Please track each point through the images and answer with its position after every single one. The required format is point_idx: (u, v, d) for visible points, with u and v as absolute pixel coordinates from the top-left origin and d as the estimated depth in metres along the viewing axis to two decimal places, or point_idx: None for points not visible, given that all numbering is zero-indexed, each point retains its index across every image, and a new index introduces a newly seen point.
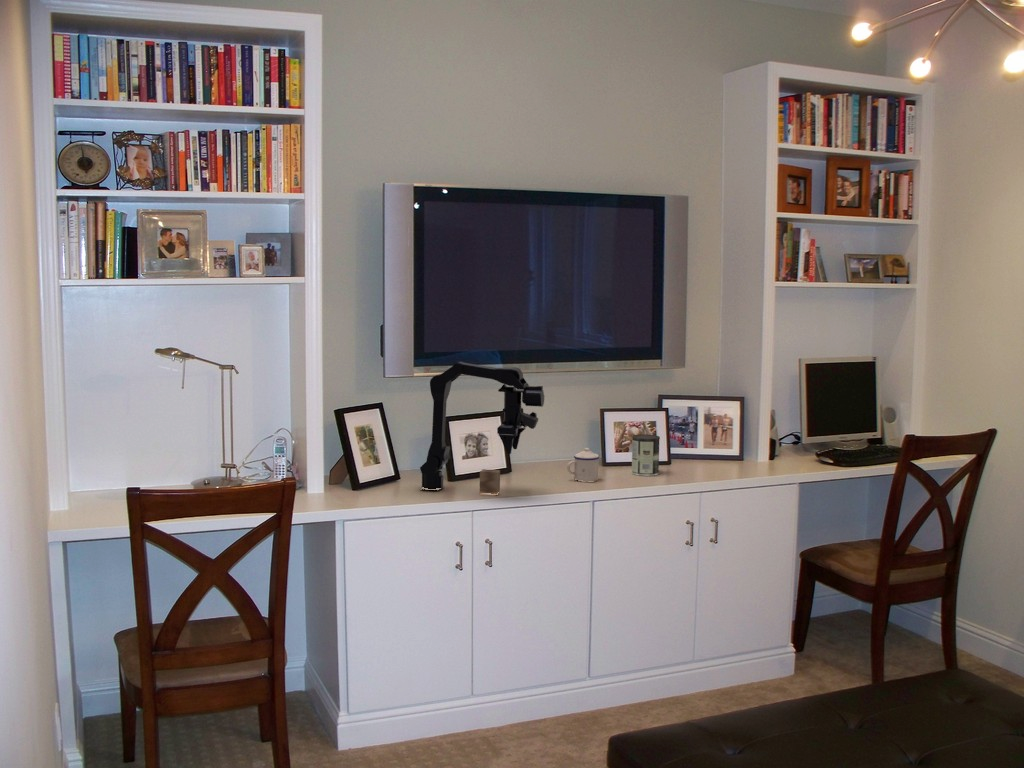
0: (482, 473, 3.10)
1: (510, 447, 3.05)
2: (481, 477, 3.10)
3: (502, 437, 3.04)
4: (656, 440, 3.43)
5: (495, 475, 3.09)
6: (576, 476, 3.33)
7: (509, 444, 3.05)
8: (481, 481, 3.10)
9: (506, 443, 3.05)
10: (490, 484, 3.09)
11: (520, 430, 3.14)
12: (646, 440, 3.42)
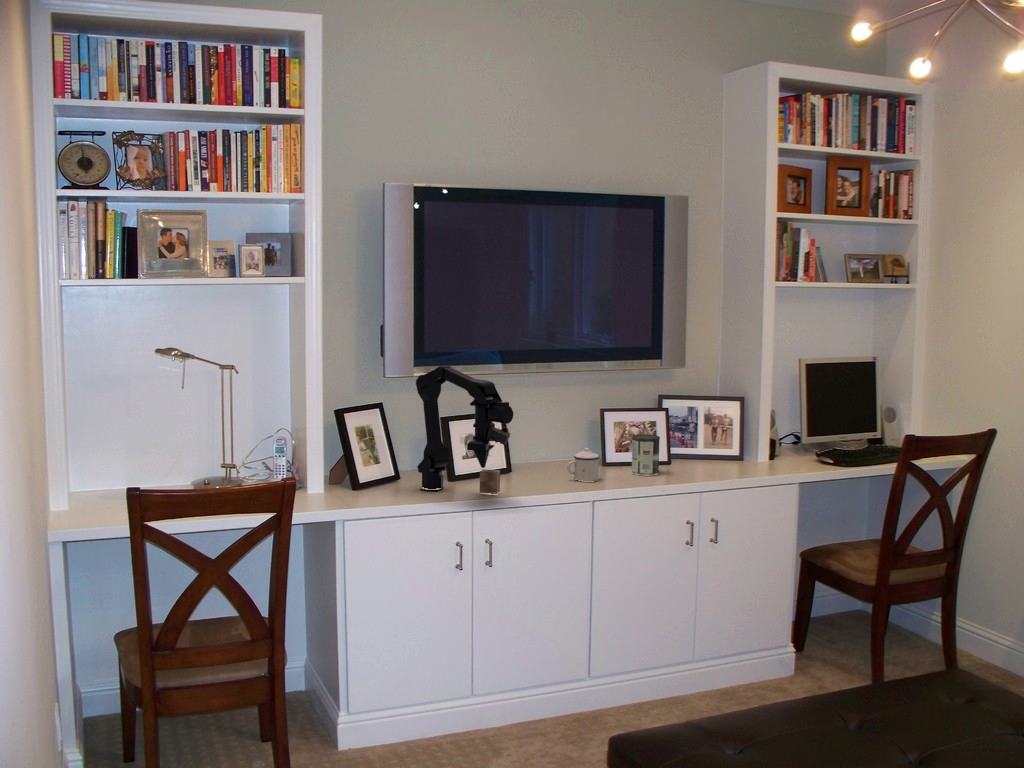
0: (482, 473, 3.10)
1: (484, 461, 3.01)
2: (481, 477, 3.10)
3: (476, 451, 3.00)
4: (656, 440, 3.43)
5: (495, 475, 3.09)
6: (576, 476, 3.33)
7: (482, 458, 3.01)
8: (481, 481, 3.10)
9: (480, 457, 3.01)
10: (490, 484, 3.09)
11: None
12: (646, 440, 3.42)
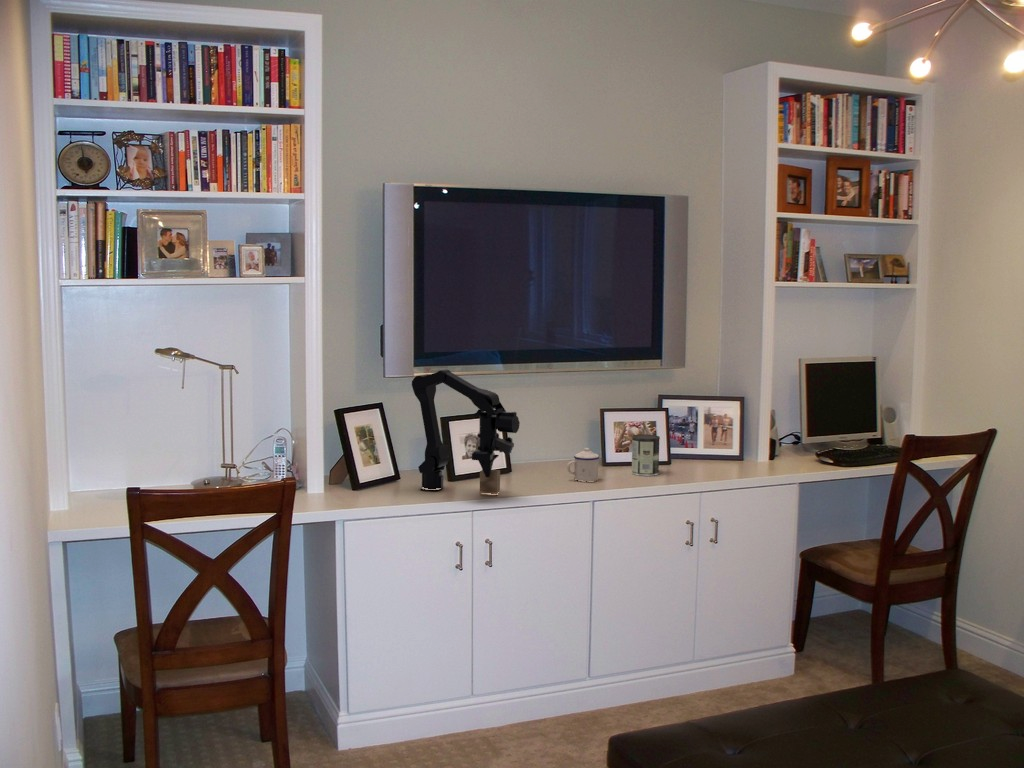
0: (482, 473, 3.10)
1: (488, 470, 3.07)
2: (481, 477, 3.10)
3: (480, 460, 3.06)
4: (656, 440, 3.43)
5: (495, 475, 3.09)
6: (576, 476, 3.33)
7: (487, 468, 3.07)
8: (481, 481, 3.10)
9: (484, 466, 3.07)
10: (490, 484, 3.09)
11: (493, 457, 3.08)
12: (646, 440, 3.42)
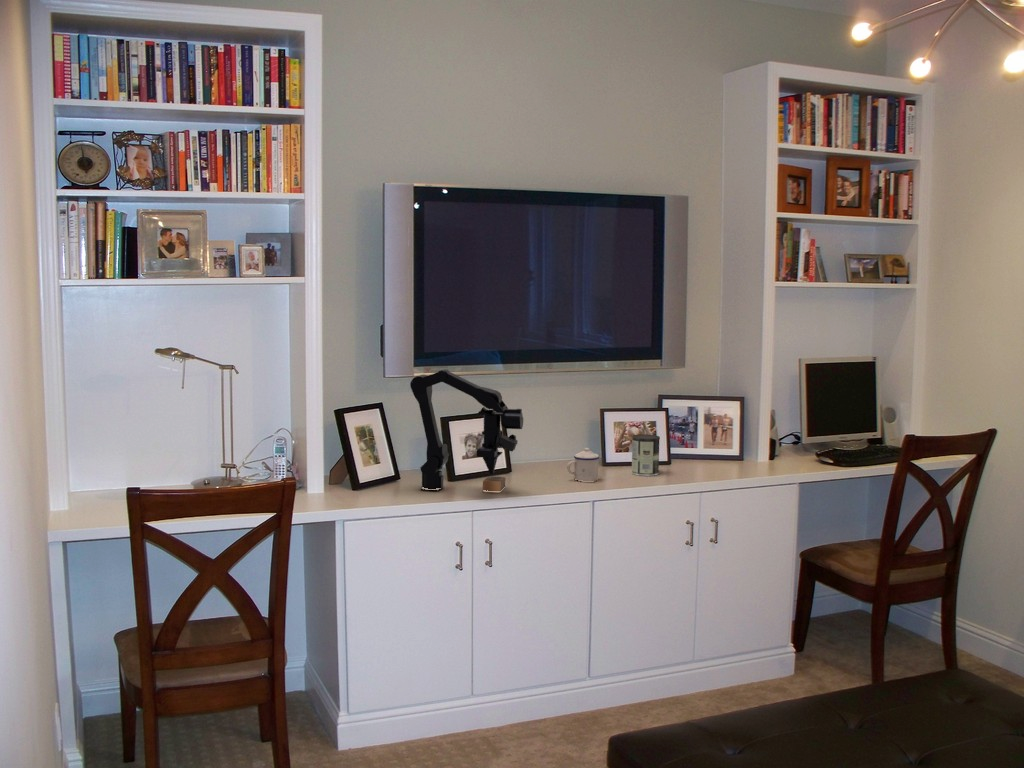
0: (490, 476, 3.21)
1: (492, 467, 3.12)
2: (488, 477, 3.20)
3: (484, 457, 3.11)
4: (656, 440, 3.43)
5: (503, 477, 3.20)
6: (576, 476, 3.33)
7: (491, 464, 3.12)
8: (487, 478, 3.18)
9: (488, 463, 3.12)
10: (496, 479, 3.17)
11: (497, 454, 3.13)
12: (646, 440, 3.42)
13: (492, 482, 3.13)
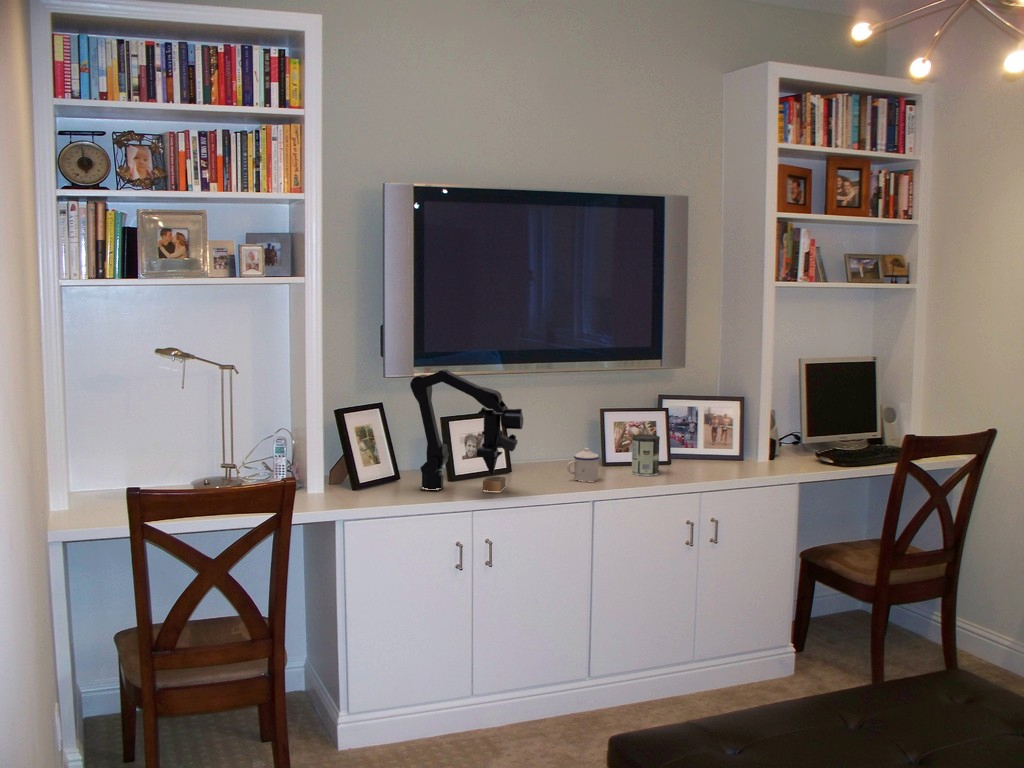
0: (490, 476, 3.21)
1: (492, 467, 3.12)
2: (488, 477, 3.20)
3: (484, 457, 3.11)
4: (656, 440, 3.43)
5: (503, 477, 3.20)
6: (576, 476, 3.33)
7: (491, 464, 3.12)
8: (487, 478, 3.18)
9: (488, 463, 3.12)
10: (496, 479, 3.17)
11: (497, 454, 3.13)
12: (646, 440, 3.42)
13: (492, 482, 3.13)
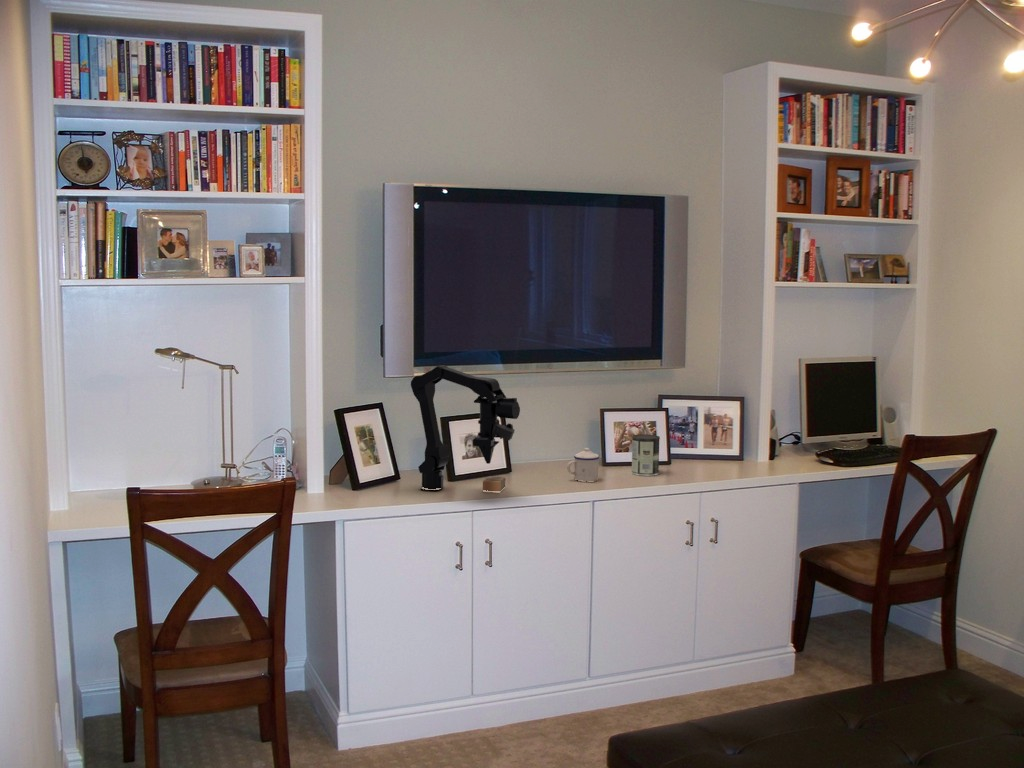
0: (490, 476, 3.21)
1: (489, 457, 3.06)
2: (488, 477, 3.20)
3: (481, 447, 3.05)
4: (656, 440, 3.43)
5: (503, 477, 3.20)
6: (576, 476, 3.33)
7: (488, 454, 3.06)
8: (487, 478, 3.18)
9: (485, 453, 3.06)
10: (496, 479, 3.17)
11: None
12: (646, 440, 3.42)
13: (491, 482, 3.13)
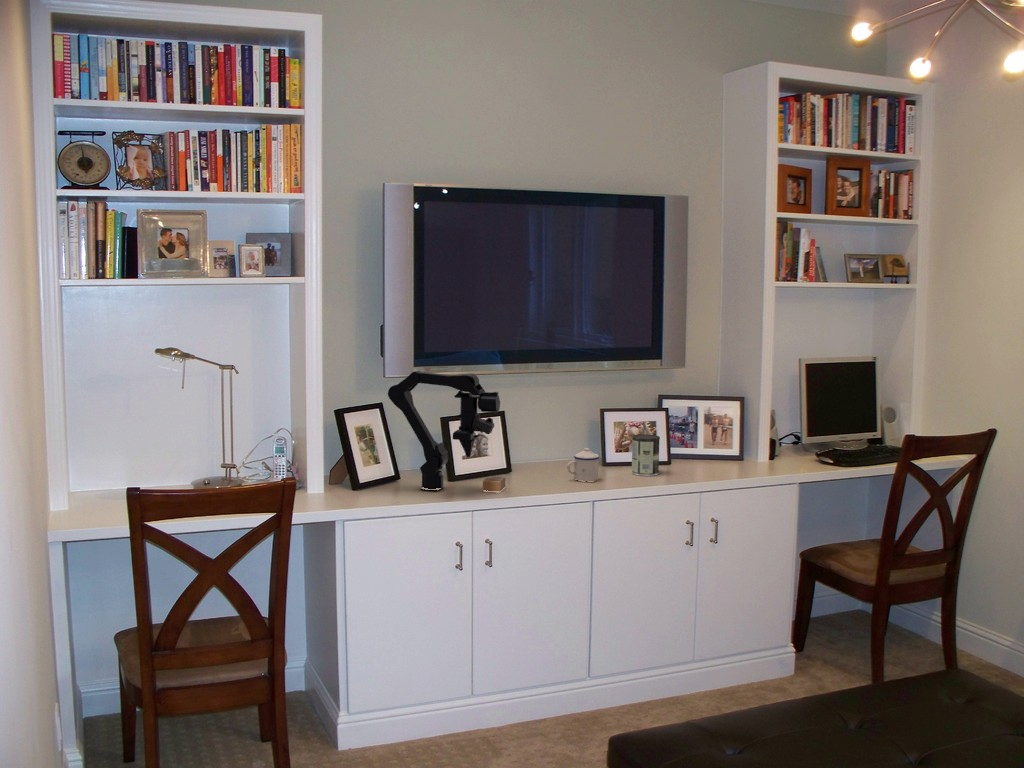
0: (490, 476, 3.21)
1: (469, 450, 3.13)
2: (488, 477, 3.20)
3: (461, 440, 3.12)
4: (656, 440, 3.43)
5: (503, 477, 3.20)
6: (576, 476, 3.33)
7: (468, 447, 3.13)
8: (487, 478, 3.18)
9: (465, 446, 3.13)
10: (496, 479, 3.17)
11: (474, 437, 3.14)
12: (646, 440, 3.42)
13: (492, 482, 3.13)
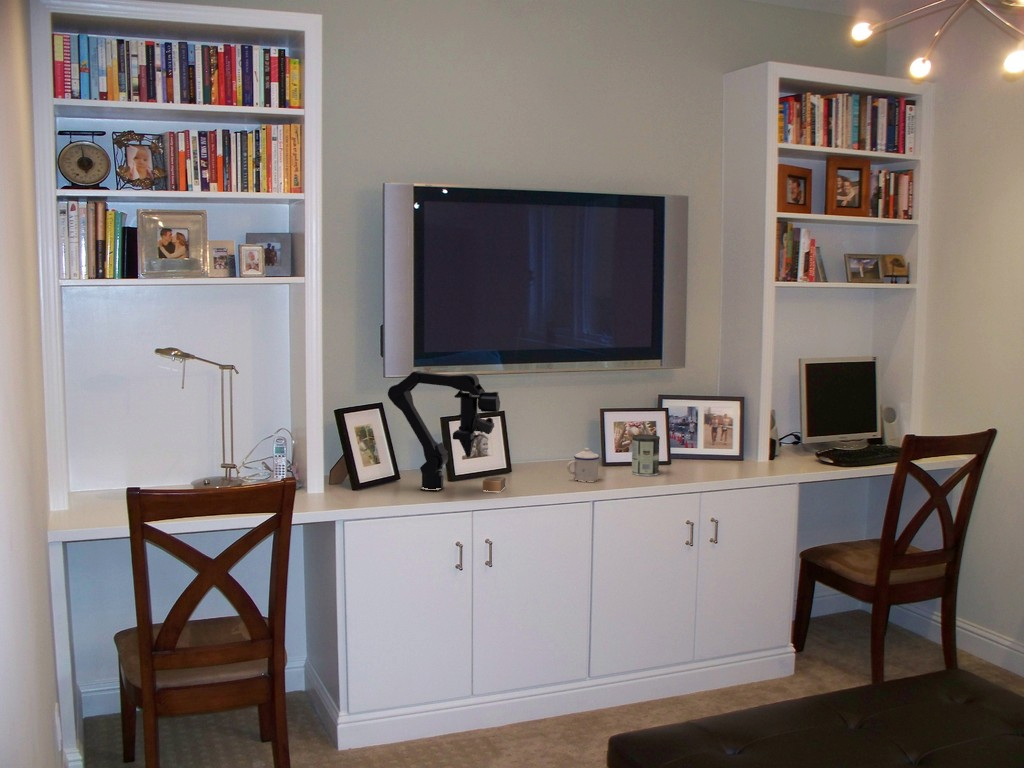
0: (490, 476, 3.21)
1: (469, 450, 3.13)
2: (488, 477, 3.20)
3: (461, 440, 3.12)
4: (656, 440, 3.43)
5: (503, 477, 3.20)
6: (576, 476, 3.33)
7: (468, 447, 3.13)
8: (487, 478, 3.18)
9: (465, 446, 3.13)
10: (496, 479, 3.17)
11: (474, 437, 3.14)
12: (646, 440, 3.42)
13: (492, 482, 3.13)
